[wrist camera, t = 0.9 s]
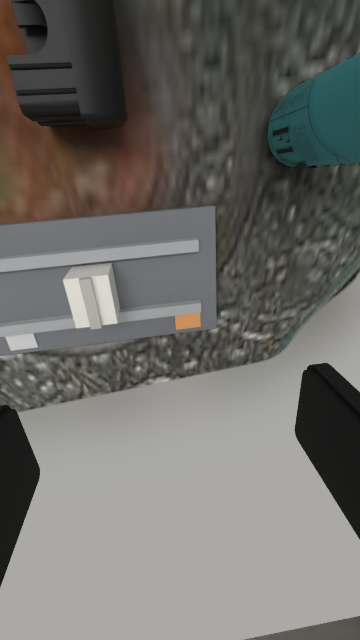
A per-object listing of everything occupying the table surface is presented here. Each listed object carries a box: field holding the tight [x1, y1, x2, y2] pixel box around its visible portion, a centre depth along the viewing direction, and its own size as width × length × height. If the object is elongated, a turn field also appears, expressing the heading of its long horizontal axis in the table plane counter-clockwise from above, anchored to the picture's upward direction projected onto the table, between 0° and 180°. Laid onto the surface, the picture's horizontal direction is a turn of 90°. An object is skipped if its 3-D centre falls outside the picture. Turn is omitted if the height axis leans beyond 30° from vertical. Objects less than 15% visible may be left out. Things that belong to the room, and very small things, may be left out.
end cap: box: [6, 0, 127, 130], centre depth 20 cm, size 10×7×7 cm
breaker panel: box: [0, 205, 217, 356], centre depth 30 cm, size 14×26×2 cm, turn 94°
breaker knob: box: [63, 263, 120, 330], centre depth 28 cm, size 5×4×5 cm
